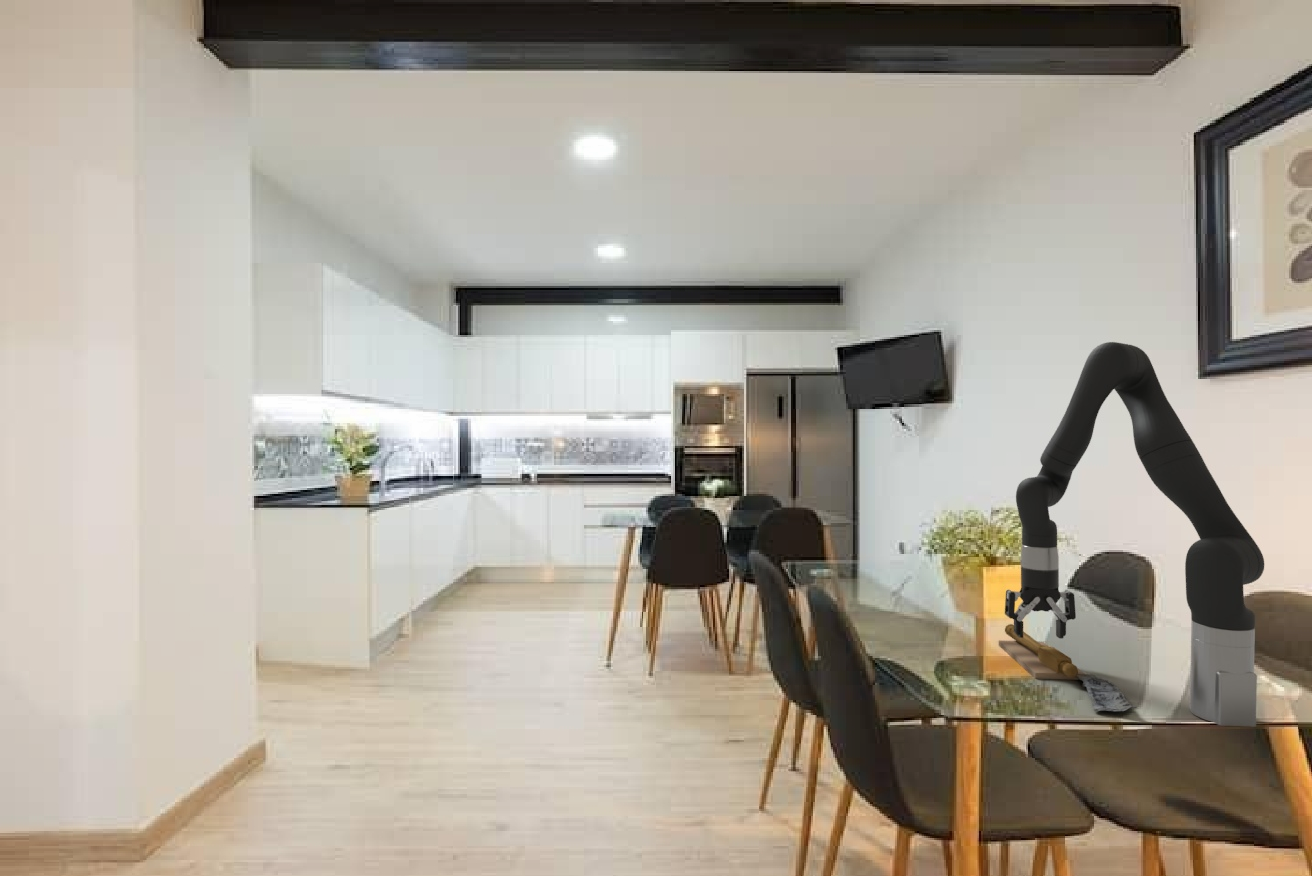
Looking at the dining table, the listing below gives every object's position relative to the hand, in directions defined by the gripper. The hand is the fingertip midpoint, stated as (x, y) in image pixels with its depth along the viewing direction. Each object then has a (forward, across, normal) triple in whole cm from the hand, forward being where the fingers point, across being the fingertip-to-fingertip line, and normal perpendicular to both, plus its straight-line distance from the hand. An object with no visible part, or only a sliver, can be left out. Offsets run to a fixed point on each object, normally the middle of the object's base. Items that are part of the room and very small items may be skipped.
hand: (1039, 637), depth 164 cm
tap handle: (+5, 0, +1) cm, 5 cm away
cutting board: (+6, 0, 0) cm, 6 cm away
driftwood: (+6, +4, -19) cm, 21 cm away
